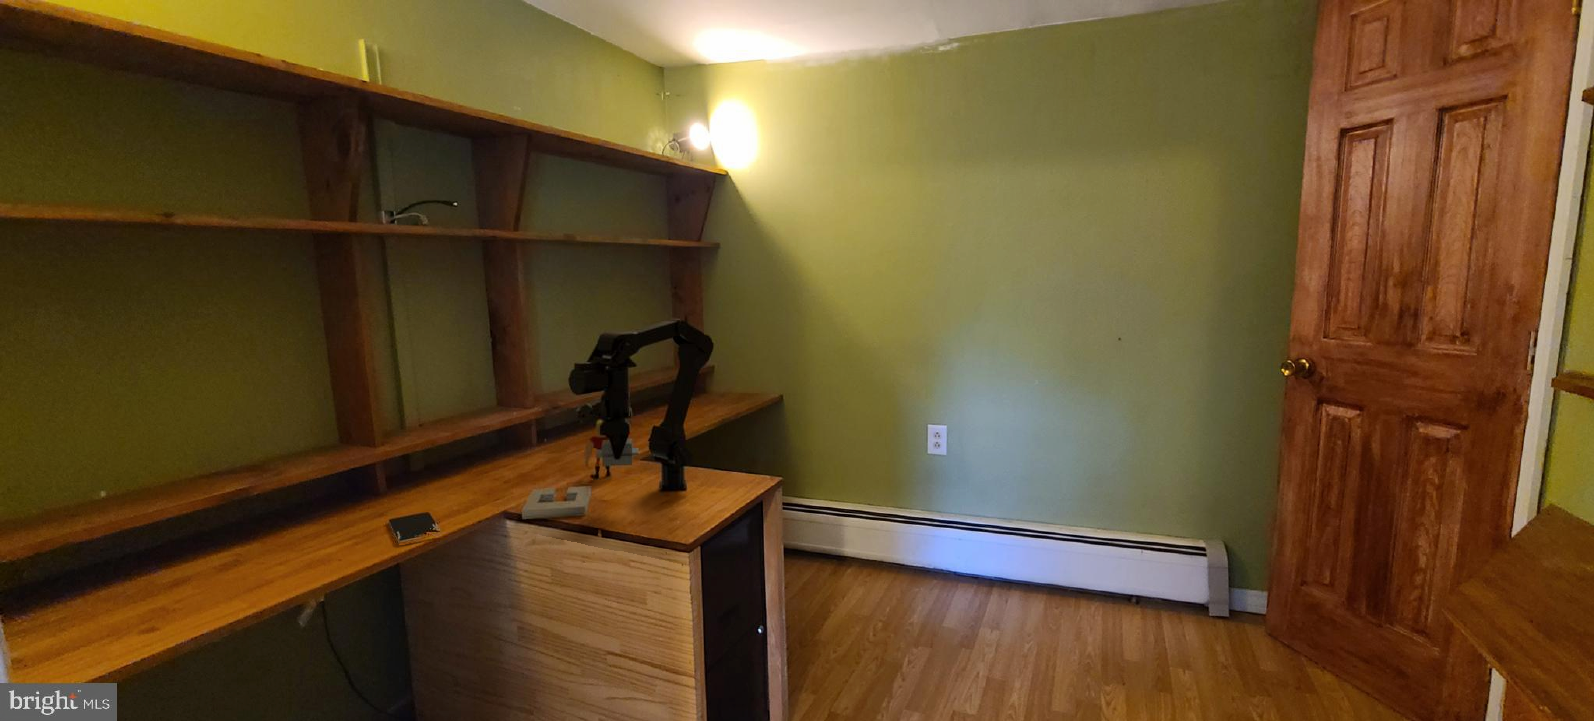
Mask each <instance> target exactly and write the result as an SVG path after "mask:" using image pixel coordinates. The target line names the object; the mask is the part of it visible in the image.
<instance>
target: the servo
mask: <svg viewBox="0 0 1594 721" xmlns="http://www.w3.org/2000/svg"><path fill="white" fill-rule="evenodd" d="M639 452H640V450H639V447H633V438H628V439H627V441H626V444H625V446H624V449H623V452H622V454H621V457H620V459H615V458H614V455H613V451H612V447H611V443H610V440H603V442H602V450H597V449H596V453H595V459H597V458H599V457H601V462H602V464H601V466H602V467H605V466H610V467H619V466H633V462H634V461H633V460H634V459H633V458H634V457H635V456H639Z"/></svg>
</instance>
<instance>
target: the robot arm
mask: <svg viewBox="0 0 1594 721" xmlns="http://www.w3.org/2000/svg"><path fill="white" fill-rule="evenodd" d="M598 337H599V338H598V339H597V342H596V344H595V346H594V348H593V350H592V352H591V354H590V355H589V357H588V359H587V360H586V362H575V363H574V364H573V369H571V371H570V374H569V377H568V380H567V381H568V386H569V388H570V391H571V392H572V393H573V394H574V395H576V396H580V395H581V396H582V395H583V396H584V395H588V394H592V393H593V394H594V393H600V392H602V393H601V396H600V399H596V400H594V401H591V402H586V404H581V405H580V406H579V407H577V409H576V410H575V411H576V414H577V419H579V421H580V424H587V423H588V422H589V421H591V420H595V419H596V418H597V419H598V418H600V419H601V420H602V422H601V424H600V435H602V436H603V435H605V436H606V437H608V438H609V440H610V443H611V447H612V451H613V455H614V458H615V459H620V457H621V454H622V452H623V449H624V446H625V444H626V441H627V439H629V435H630V434H631V426H632V420H628V418H629V419H633V409H632V407H631V406H630V393H631V392H630V375H629V373H630V371H629V369H631V368H636V367H637V366H638V365H637V363H635V361H633V360H632V359H631V357H632V356H634V355H637V354H638V352H639V351H640V349H643V348H645V347H647V346H650V345H655V344H657V343H660V342H663V341H666V340H669V339H671V341H672V343H673V344H674V345H676V346H677V347H678V349H677V357H678V362H679V368H678V371H677V374H676V378H675V381H674V385H673V388H672V391H671V395H670V398H669V400H668V403H667V404H668V405H667V408H666V412H665V415H664V419H663V420H662V422H661V423H660V424H659V425H653V426H652V427H651V430H650V435H649V438H648V439H647V442H648V450H649V451H650V454H651V456H652V458H653V462H657V463H660V470H661V471H660V472H661V473H660V474H661V475H660V477H661V479H660V481H659V491H660V492H665V491H684V490H688V486H687V480H686V476H685V475H686V474H685V472H686V471H685V470H686V469H685V468H686V467H688V466H689V465H691V464H692V462H693V458H694V455H693V453H692V452H691V451H689V449H688V448H687V447H685V446H686V440H687V437H686V436H687V435H686V432H685V429H684V428H685V427H684V424H685V421H686V418H687V414H688V412H689V407H690V404H691V401H692V397H693V393H694V389H695V387H696V383H697V380H698V376H699V372H700V371H701V369H702V368H704V366H706V364H707V363H709V360H710V358H711V357H712V356H711V355H712V354H713V351H714V342H713V340H712V338H711V336H710V335H708V334H705V333H704V332H702V331H701V330H699V329H697V328H696V327H694V326H692V325H691V324H690V323H688V322H687V321H686V320H684V319H682V318H669V319H666V320H664V321H661V322H657V323H654V324H650V325H648V326H644V327H640V328H637V329H633V330H628V331H627V330H625V331H623V330H622V331H621V330H619V331H606V332H605V331H604V332H603V333H601V334H600V335H599V336H598Z"/></svg>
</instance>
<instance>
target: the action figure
mask: <svg viewBox="0 0 1594 721" xmlns="http://www.w3.org/2000/svg"><path fill="white" fill-rule="evenodd" d="M602 421H603V419H601V418H600V419H598V420H597V421H596V423H595V424H596V425H595V427H596V428H595V429H596V434H594V435H592V436H591V437H590V438H588V441H586V444H585V450H584V452H583V457H584V460H585V461H584V465H585V467H586V468H590V466H589V465H588V464H589V461H590V458H591V457H592V453H593V449H596V451H597V450H602V442H603V440H609V438H608V437H606V436H605V435H603V436H602V435H600V424H601V422H602ZM601 459H602V457H599V458H596V463H595V465H594V470H595V474H593V473H592V474H590V477H591V478H593V479H594V478H596V479H599V478H600V469H601V466H600V461H601ZM604 467H605V468H606V476H608V477H609V476H611V472H610V471H611V470H610V467H611V466H604Z"/></svg>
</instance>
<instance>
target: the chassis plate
mask: <svg viewBox="0 0 1594 721" xmlns="http://www.w3.org/2000/svg"><path fill="white" fill-rule="evenodd" d="M591 488H592V487H591V485H586V486H585V485H584V486H570V487H569V486H568V489H567V490H566V501H563V500H562V501H555V499H556V487H552V488H551V487H549V488H548V487H547V488H533V489H532V491H531V493H530V494H529V496H528V498H527V500H526V502H525V504H524V506H523V507H522V509H521V519H522V520H527V519H528V520H533V519H546V518H561V517H562V518H563V517H564V518H567V517H577V516H578V517H579V516H580V517H581V516H585V515H586V513H587V509H588V505H589V502H590V498H591V495H592V492H591V491H592V489H591Z"/></svg>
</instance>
